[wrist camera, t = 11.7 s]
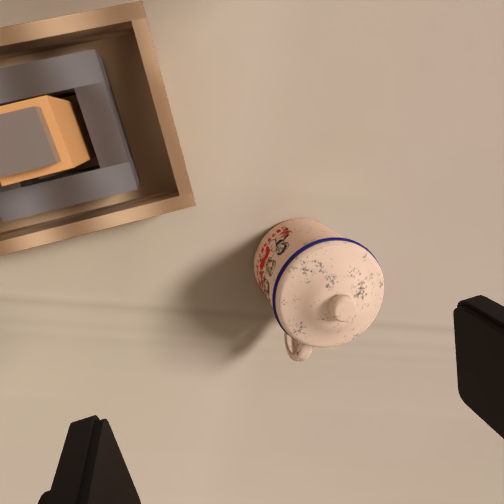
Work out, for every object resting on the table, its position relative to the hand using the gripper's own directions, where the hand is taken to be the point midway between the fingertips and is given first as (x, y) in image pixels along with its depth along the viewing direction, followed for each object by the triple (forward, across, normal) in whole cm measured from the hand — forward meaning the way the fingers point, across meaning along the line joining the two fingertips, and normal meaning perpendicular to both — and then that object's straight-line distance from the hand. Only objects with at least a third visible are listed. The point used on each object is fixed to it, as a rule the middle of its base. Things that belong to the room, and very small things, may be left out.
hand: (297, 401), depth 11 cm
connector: (+27, +9, -8) cm, 30 cm away
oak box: (+28, +9, -8) cm, 31 cm away
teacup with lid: (+28, -7, +9) cm, 31 cm away
